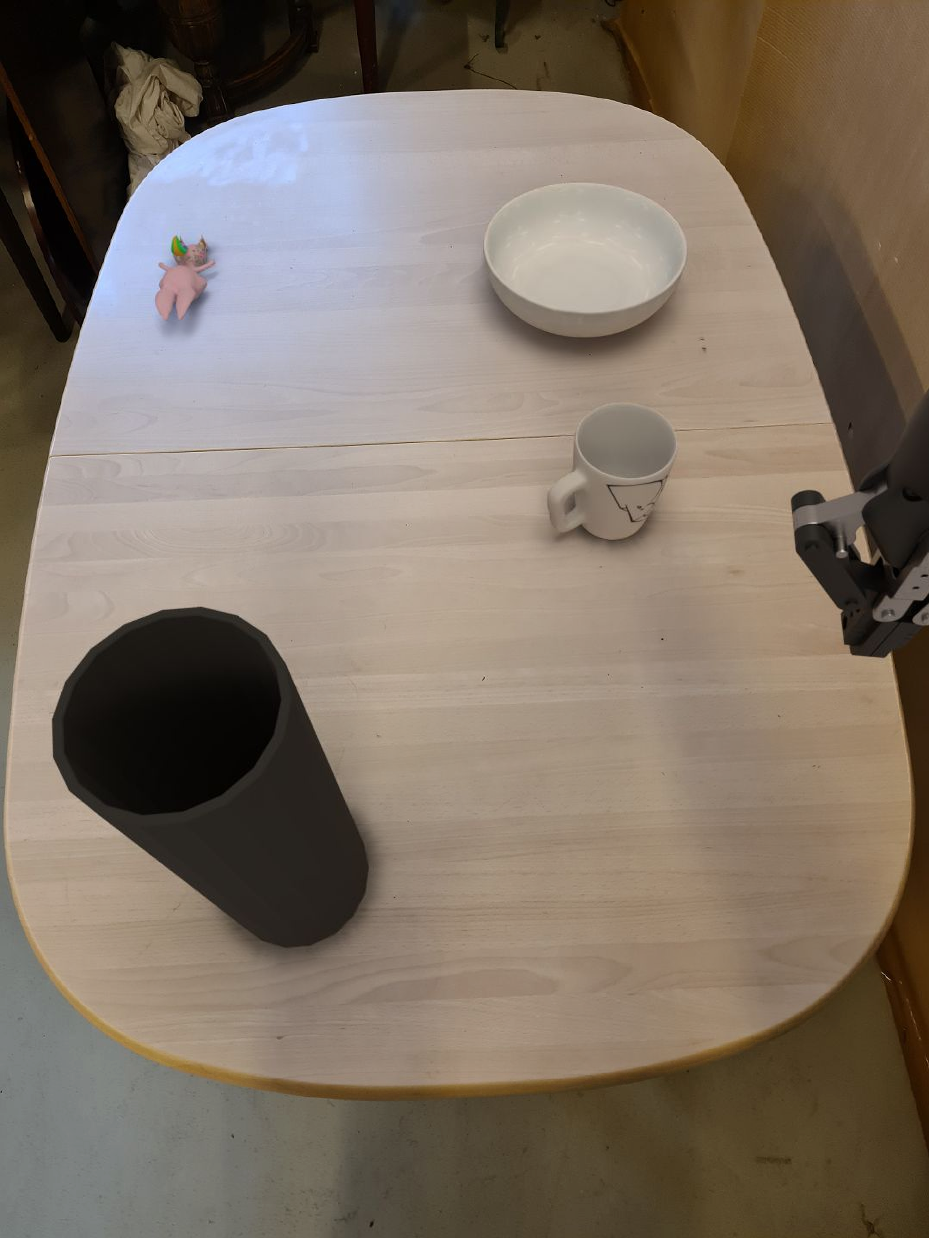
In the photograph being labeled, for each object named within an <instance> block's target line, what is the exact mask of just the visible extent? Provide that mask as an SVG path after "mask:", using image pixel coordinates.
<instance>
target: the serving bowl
mask: <svg viewBox="0 0 929 1238" xmlns="http://www.w3.org/2000/svg"><path fill="white" fill-rule="evenodd" d="M485 228H486V229H485V231H484V236H483V239H482V240H483V241H482V248H483V249H482V252H483V259H484V266H485V269H486V273H487V277H488V279H489V282H490V284H491V286H492V288H493V290H494V291H495V294H496V295H497V296H498V298H499V300H500V301H501V302H502V303H503V305H505V306H506V308H507V309H508V310H510V311H511V312H512V313H513V314H514V315H516V316H517V317H518V318H519V319H521V320H522V321H523V322H525V323H527V324H528V325H531V326H533V327H534V328H537V329H539V330H541V331H544V332H548V333H550V334H554V335H559V336H563V337H570V338H598V337H605V336H610V335H613V334H618V333H621V332H624V331H627V330H629V329H631V328H633V327H635V326H637V325H639V324H641V323H643V322H644V321H646V320H648V319H649V318H650V317H651V316H653V314H655V313H657V311H658V310H660V309H661V308H662V306H664V304H665V303H666V302H667V301H668V300H669V298H671V295H672V294H673V293H674V291H675V289H676V287H677V285H678V284H679V281H680V280H681V277H682V275H683V272H684V270H685V268H686V265H687V260H688V243H687V238H686V235H685V233H684V230H683V229H682V227H681V226H680V224H679V222H678V221H677V219H675V218H674V217H673V215H672V214H671V213H669V212H668V210H666V209H665V208H664V207H663V206H661V205H660V204H659V203H657V202H656V201H654V200H652V199H650V198H649V197H647V196H644V195H642V194H640V193H637V192H634V191H632V190H629V189H626V188H624V187H619V186H615V185H610V184H605V183H596V182H585V181H583V182H582V181H579V182H578V181H574V182H573V181H572V182H562V183H554V184H550V185H545V186H540V187H537V188H534V189H531V190H528V191H526V192H523V193H522V194H519V195H518V196H516V197H514V198H512V199H510V200H509V201H508V202H505V204H503V206H502V207H500V208H499V209H498V210H497V211H496V213H494V214H493V216H492V217H491V219H490V220H489V222H488V224H487V226H486V227H485Z"/></svg>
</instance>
